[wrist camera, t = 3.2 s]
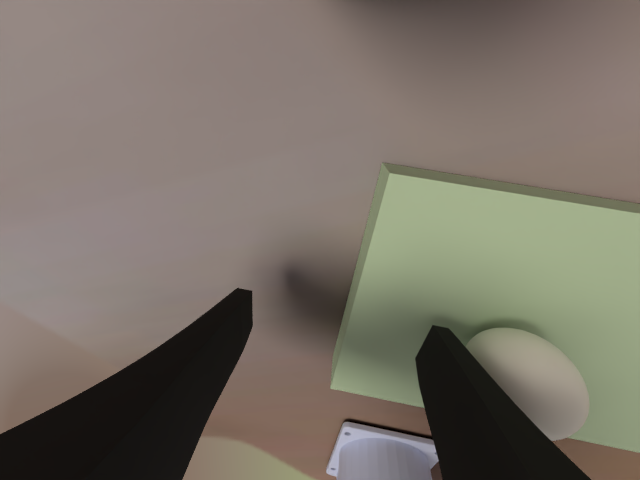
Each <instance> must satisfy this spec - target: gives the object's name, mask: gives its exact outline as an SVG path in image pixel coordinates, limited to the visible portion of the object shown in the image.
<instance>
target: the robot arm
mask: <svg viewBox="0 0 640 480" xmlns="http://www.w3.org/2000/svg"><path fill="white" fill-rule="evenodd" d="M252 327H253V319H252V291H250V290H245V289H239V288H237V289H235V290H234V291H233V292H231V293H230V294H229V295H228V296H226V297H225V298H224V299H223V300H221V301H220V302H219V303H218V304H216V305H215V306H214V307H213V308H211V309H210V310H209V311H207V312H206V313H205V314H204V315H202V316H201V317H200V318H198V319H197V320H196V321H194V322H193V323H192V324H190V325H189V326H188V327H186V328H185V329H183V330H182V331H181V332H179V333H178V334H176V335H175V336H173V337H172V338H170V339H169V340H168V341H166V342H165V343H163V344H162V345H160V346H159V347H157V348H156V349H154V350H153V351H151V352H150V353H148V354H147V355H145V356H144V357H142V358H140V359H139V360H137V361H136V362H134V363H132V364H131V365H129V366H127V367H126V368H124V369H122V370H121V371H119V372H117V373H116V374H114V375H112V376H110V377H109V378H107V379H105V380H103V381H102V382H100V383H98V384H96V385H95V386H93V387H91V388H89V389H88V390H86V391H84V392H82V393H80V394H78V395H77V396H75V397H73V398H71V399H69V400H67V401H65V402H64V403H62V404H60V405H58V406H56V407H54V408H52V409H50V410H48V411H46V412H44V413H42V414H40V415H38V416H36V417H34V418H32V419H30V420H28V421H26V422H24V423H22V424H20V425H18V426H16V427H14V428H12V429H10V430H8V431H6V432H4V433H2V434H0V480H182V479H183V477H184V474H185V472H186V469H187V467H188V465H189V462H190V460H191V457H192V455H193V453H194V450H195V448H196V445H197V443H198V441H199V438H200V436H201V434H202V431H203V429H204V427H205V425H206V422H207V420H208V418H209V416H210V414H211V412H212V410H213V408H214V406H215V404H216V402H217V400H218V398H219V397H220V395H221V393H222V391H223V389H224V387H225V385H226V383H227V381H228V379H229V377H230V375H231V373H232V372H233V370H234V368H235V366H236V364H237V362H238V360H239V358H240V356H241V354H242V352H243V350H244V347H245V345H246V342H247V340H248V337H249V335H250V332H251V329H252ZM415 361H416V369H417V376H418V382H419V388H420V392H421V396H422V400H423V404H424V407H425V411H426V415H427V419H428V423H429V426H430V430H431V434H432V438H433V440H432V439H427V438H422V437H418V436H413V435H408V434H404V433H399V432H394V431H390V430H385V429H380V428H376V427H371V426H366V425H362V424H357V423H352V422H344V423H343V424H342V427H341V430H340V433H339V435H338V438H337V441H336V443H335V446H334V449H333V451H332V454H331V457H330V460H329V462H328V465H327V469H326V472H327V474H329V475H332V476H337V479H336V480H432V476H431V471H430V470H431V469H432V467H433V466H434V465H435V464H436V463H437V462H438V461H439V465H440V469H441V473H442V478H443V480H591V479H590V478H589V477H588V476H587V475H586V474H585V473H583V472H582V471H581V470H580V469H579V468H578V467H577V466H576V465H575V464H574V463H573V462H572V461H571V460H570V459H569V458H568V457H567V456H566V455H565V454H564V453H563V452H562V451H561V450H560V449H559V448H558V447H557V446H556V445H555V444H554V443H553V442H552V441H551V440H550V439H549V438H548V437H547V436H546V435H545V434H544V433H543V432H542V431H541V430H540V429H539V428H538V427H537V426H536V425H535V424H534V423H533V422H532V421H531V420H530V419H529V418H528V417H527V416H526V414H525V413H524V412H523V411H522V410H521V409H520V408H519V407H518V406H517V405H516V404H515V403H514V402H513V401H512V400H511V398H510V397H509V396H508V395H507V394H506V393H505V392H504V391H503V390H502V389H501V387H500V386H499V385H498V384H497V383H496V382H495V381H494V380H493V378H492V377H491V376H490V375H489V374H488V373H487V372H486V370H485V369H484V368H483V367H482V366H481V365H480V363H479V362H478V361H477V360H476V359H475V358H474V356H473V355H472V354H471V353H470V352H469V351H468V349H467V348H466V347H465V346H464V345H463V344H462V343H461V341H460V340H459V339H458V338H457V337H456V336H455V335H454V333H453V332H452V331H451V330H450V329H449V328H446V327H441V326H436V325H432V327H431V329H430V331H429V333H428V335H427V336H426V338H425V340H424V342H423V344H422V346H421V348H420V350H419V352H418V354H417V356H416V357H415Z"/></svg>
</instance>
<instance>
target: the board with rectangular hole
mask: <svg viewBox="0 0 640 480" xmlns="http://www.w3.org/2000/svg"><path fill="white" fill-rule="evenodd" d="M432 325H436V326H441V327H446V328H449V329H450V330H451V331H452V332H453V333H454V335H455V336H456V337H457V338H458V339H459V340H460V341H461V343H462V344H463V345H464V346H466V345H467V343H468V342H469V341H470V340H471V339H472V338H473V337H474V336H475V335H477V334H478V333H480V332H482V331H485V330H488V329H492V328H504V327H505V328H515V329H520V330H524V331H527V332H530V333H532V334H535V335H537V336H539V337H541V338H543V339H545V340H546V341H548V342H550V343H551V344H553V345H554V346H555V347H557V348H558V349H559V350H561V351H562V352H563V353H564V354H565V355H566V356H567V357H568V358H569V359H570V360H571V361H572V363H573V364H574V365H575V366H576V368H577V369H578V371H579V373H580V374H581V376H582V377H583V380H584V382H585V384H586V387H587V390H588V394H589V413H588V417H587V419H586V421H585V423H584V425H583V426H582V427H581V428H580V429H579V430H578V431H577V432H576V433H574V434H573V435H571V436H569V437H567V438H571V439H576V440H581V441H585V442H590V443H595V444H600V445H605V446H609V447H614V448H619V449H624V450H629V451H633V452H638V453H640V204H637V203H631V202H625V201H619V200H612V199H606V198H600V197H594V196H587V195H581V194H575V193H569V192H562V191H556V190H550V189H544V188H538V187H531V186H525V185H519V184H513V183H506V182H500V181H494V180H488V179H481V178H475V177H469V176H463V175H457V174H450V173H444V172H438V171H432V170H425V169H419V168H413V167H407V166H400V165H394V164H388V163H382V166H381V170H380V173H379V177H378V181H377V185H376V189H375V193H374V197H373V201H372V205H371V209H370V213H369V217H368V221H367V224H366V228H365V232H364V236H363V240H362V244H361V248H360V252H359V256H358V260H357V264H356V268H355V272H354V275H353V279H352V283H351V287H350V291H349V295H348V299H347V303H346V307H345V311H344V315H343V319H342V323H341V326H340V330H339V334H338V338H337V342H336V346H335V350H334V354H333V362H332V374H331V386H330V388H331V389H336V390H341V391H345V392H350V393H355V394H360V395H365V396H369V397H374V398H379V399H384V400H389V401H393V402H398V403H403V404H408V405H413V406H417V407H422V408H425V407H424V404H423V400H422V396H421V392H420V388H419V382H418V376H417V369H416V361H415V357H416V356H417V354H418V352H419V350H420V348H421V346H422V344H423V342H424V340H425V338H426V336H427V335H428V333H429V331H430V329H431V327H432Z"/></svg>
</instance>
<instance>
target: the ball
mask: <svg viewBox="0 0 640 480" xmlns="http://www.w3.org/2000/svg"><path fill="white" fill-rule="evenodd" d="M465 347H466V348H467V349H468V351H469V352H470V353H471V354H472V355H473V356H474V358H475V359H476V360H477V361H478V362H479V363H480V365H481V366H482V367H483V368H484V369H485V370H486V372H487V373H488V374H489V375H490V376H491V377H492V378H493V380H494V381H495V382H496V383H497V384H498V385H499V386H500V387H501V389H502V390H503V391H504V392H505V393H506V394H507V395H508V396H509V397H510V398H511V400H512V401H513V402H514V403H515V404H516V405H517V406H518V407H519V408H520V409H521V410H522V411H523V412H524V413H525V414H526V416H527V417H528V418H529V419H530V420H531V421H532V422H533V423H534V424H535V425H536V426H537V427H538V428H539V429H540V430H541V431H542V432H543V433H544V434H545V435H546V436H547V437H548V438H549V439H550V440H551V441H555V440H560V439H564V438H567V437H569V436H571V435H573V434H574V433H576V432H577V431H578V430H579V429H580V428H581V427H582V426H583V425H584V423H585V421H586V419H587V417H588V413H589V394H588V390H587V387H586V384H585V382H584V380H583V377H582V376H581V374H580V373H579V371H578V369H577V368H576V366H575V365H574V364H573V363H572V361H571V360H570V359H569V358H568V357H567V356H566V355H565V354H564V353H563V352H562V351H561V350H559V349H558V348H557V347H555V346H554V345H553V344H551V343H550V342H548V341H546V340H545V339H543V338H541V337H539V336H537V335H535V334H532V333H530V332H527V331H524V330H520V329H515V328H505V327H504V328H492V329H488V330H485V331H482V332H480V333H478V334H477V335H475V336H474V337H473V338H472V339H471V340H470V341H469V342H468V343H467V345H466V346H465Z"/></svg>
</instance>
